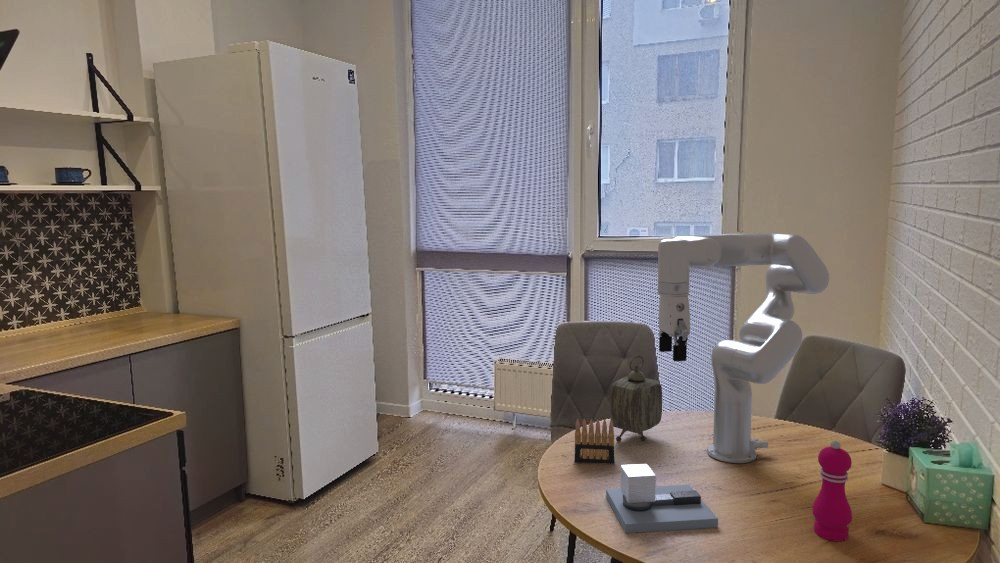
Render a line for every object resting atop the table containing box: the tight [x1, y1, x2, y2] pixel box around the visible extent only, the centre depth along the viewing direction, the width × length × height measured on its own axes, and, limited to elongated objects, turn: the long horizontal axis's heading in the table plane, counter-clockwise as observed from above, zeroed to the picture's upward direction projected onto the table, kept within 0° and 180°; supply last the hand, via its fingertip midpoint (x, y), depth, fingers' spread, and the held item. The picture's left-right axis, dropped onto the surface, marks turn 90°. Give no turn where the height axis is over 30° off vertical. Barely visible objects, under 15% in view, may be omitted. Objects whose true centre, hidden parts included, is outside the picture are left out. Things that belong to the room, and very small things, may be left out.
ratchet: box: [623, 489, 702, 512], centre depth 137 cm, size 17×6×6 cm, turn 95°
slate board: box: [605, 484, 719, 534], centre depth 137 cm, size 20×16×2 cm
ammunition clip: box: [573, 417, 616, 465], centre depth 164 cm, size 11×2×12 cm, turn 81°
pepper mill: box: [811, 439, 853, 542], centre depth 126 cm, size 7×7×20 cm
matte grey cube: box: [620, 463, 657, 503], centre depth 136 cm, size 6×6×6 cm
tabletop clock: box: [609, 354, 663, 443], centre depth 178 cm, size 14×9×25 cm, turn 135°
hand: (672, 356), depth 154 cm, fingers open, 9 cm apart
